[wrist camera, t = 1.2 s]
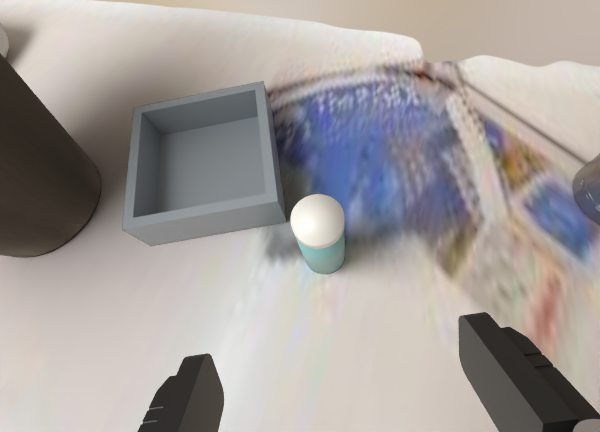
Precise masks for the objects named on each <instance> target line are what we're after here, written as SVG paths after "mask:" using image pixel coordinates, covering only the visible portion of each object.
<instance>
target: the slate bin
mask: <svg viewBox="0 0 600 432" xmlns="http://www.w3.org/2000/svg"><path fill="white" fill-rule="evenodd" d="M284 222H287V220H286V213H285V205H284V197H283V189H282V182H281V174H280V166H279V158H278V151H277V143H276V135H275V127H274V120H273V112H272V109H271V105H270V102H269V99H268V95H267V92H266V88H265V85H264V82H263V81H261V82H256V83H251V84H247V85H242V86H237V87H232V88H227V89H222V90H217V91H212V92H207V93H203V94H198V95H193V96H188V97H183V98H178V99H173V100H168V101H163V102H159V103H154V104H149V105H144V106H139V107H134V110H133V121H132V131H131V141H130V152H129V162H128V172H127V183H126V193H125V203H124V213H123V224H122V230H124V231H126V232H127V233H129V234H131V235H133V236H134V237H136V238H138V239H139V240H141V241H143V242H144V243H146V244H148V245H150V246H154V245H159V244H165V243H171V242H176V241H182V240H188V239H193V238H199V237H205V236H210V235H216V234H222V233H227V232H233V231H239V230H244V229H250V228H256V227H261V226H267V225H273V224H278V223H284Z"/></svg>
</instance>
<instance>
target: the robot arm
mask: <svg viewBox="0 0 600 432" xmlns="http://www.w3.org/2000/svg"><path fill="white" fill-rule="evenodd" d="M573 194H574V197H575V200H576V202H577V204H578V205H579V207H580V208H581V210H582V211H583V212H584V213H585V214H586V215H587V216H588V217H590V218H591V219H592V220H594V221H595V222H596V223H598V224H600V154H599V155H598V156H596V157H595V158H594V159H593V160H592V161H590V162H589V163H588V164H587V165H585V166H584V167H583V168H582V169H581V170H580V171H579V172H578V173H577V174H576V176H575V178H574V180H573ZM459 356H460V361H461V365H462V368H463V370H464V373H465V375H466V376H467V378H468V380H469V382H470V383H471V385H472V387H473V388H474V390H475V392H476V393H477V395H478V397H479V398H480V400H481V402H482V404H483V405H484V407H485V409H486V410H487V412H488V414H489V415H490V417H491V419H492V420H493V422H494V424H495V425H496V427H497V429H498V430H499V432H600V414H599V413H598V412H597V411H596V410H595V409H594V408H593V407H592V406H591V405H590V404H589V403H588V402H587V401H586V399H585V398H584V397H583V396H582V395H581V394H580V393H579V392H578V391H577V390H576V389H575V388H574V387H573V386H572V384H571V383H570V382H569V381H568V380H567V379H566V378H565V377H564V376H563V375H562V374H561V373H560V372H559V371H558V370H557V368H556V367H555V368H554V367H553V364H552V363H551V362H550V361H549V360H548V359H547V358H546V357H545V356H544V355H542V354H541V351H540V350H539V349H538V348H537V347H536V346H535V345H534V344H533V343H532V342H531V341H530V340H529V339H528V338H527V337H526V336H524V335H522V334H521V333H519V332H517V331H516V330H514V329H512V328H511V327H505V328H500V327H499V326H498V324H497V323H496V322H495V321H494V320H493V319H492V317H491V316H490V315H489V314H488V313H486V312H483V313H476V314H470V315H463V316H460V317H459ZM223 406H224V393H223V388H222V385H221V382H220V379H219V376H218V373H217V370H216V368H215V365H214V362H213V359H212V357H211V355H210V354H201V355H195V356H188V357H185V358H184V359H183V361H182V364H181V366H180V368H179V371H178V373H177V375H176V376H170V377H169V378H168V379H167V380H166V381H165V382H164V383H163V385H162V386H161V387H160V388H159V389H158V390H157V392H156V394H155V396H154V398H153V400H152V402H151V405H150V407H149V411H147V413H146V415H145V417H144V419H143V424H142V425H141V426H140V428H139V430H138V432H218V429H219V424H220V420H221V416H222V412H223Z"/></svg>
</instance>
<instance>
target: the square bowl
mask: <svg viewBox="0 0 600 432" xmlns="http://www.w3.org/2000/svg"><path fill="white" fill-rule="evenodd" d="M8 49H9V41H8V37H7V34H6V32H5V30H4V28H3V26H2V24H1V23H0V53H1V55H2V56H3V57H4V58H5V59H6V58H7V53H8Z"/></svg>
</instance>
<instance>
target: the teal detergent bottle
mask: <svg viewBox="0 0 600 432" xmlns="http://www.w3.org/2000/svg"><path fill="white" fill-rule="evenodd" d="M291 226H292V229H293V232H294V234H295V236H296V239H297V241H298V244H299V246H300V249H301V251H302V254H303V256H304V258H305V261H306V263H307V265H308V266H309V268H310V269H312V270H313V271H314V272H316V273H319V274H330V273H333V272H335V271H336V270H338V269H339V268H340V267H341V265H342V264H343V262H344V258H345V231H344V212H343V209H342V207H341V206H340V204H339V203H338V202H337V201H336V200H335V199H333V198H332V197H330V196H327V195H323V194H314V195H310V196H307V197H305V198H303V199H302V200H300V201H299V202H298V203H297V204H296V205H295V207H294V208H293V210H292V213H291Z"/></svg>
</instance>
